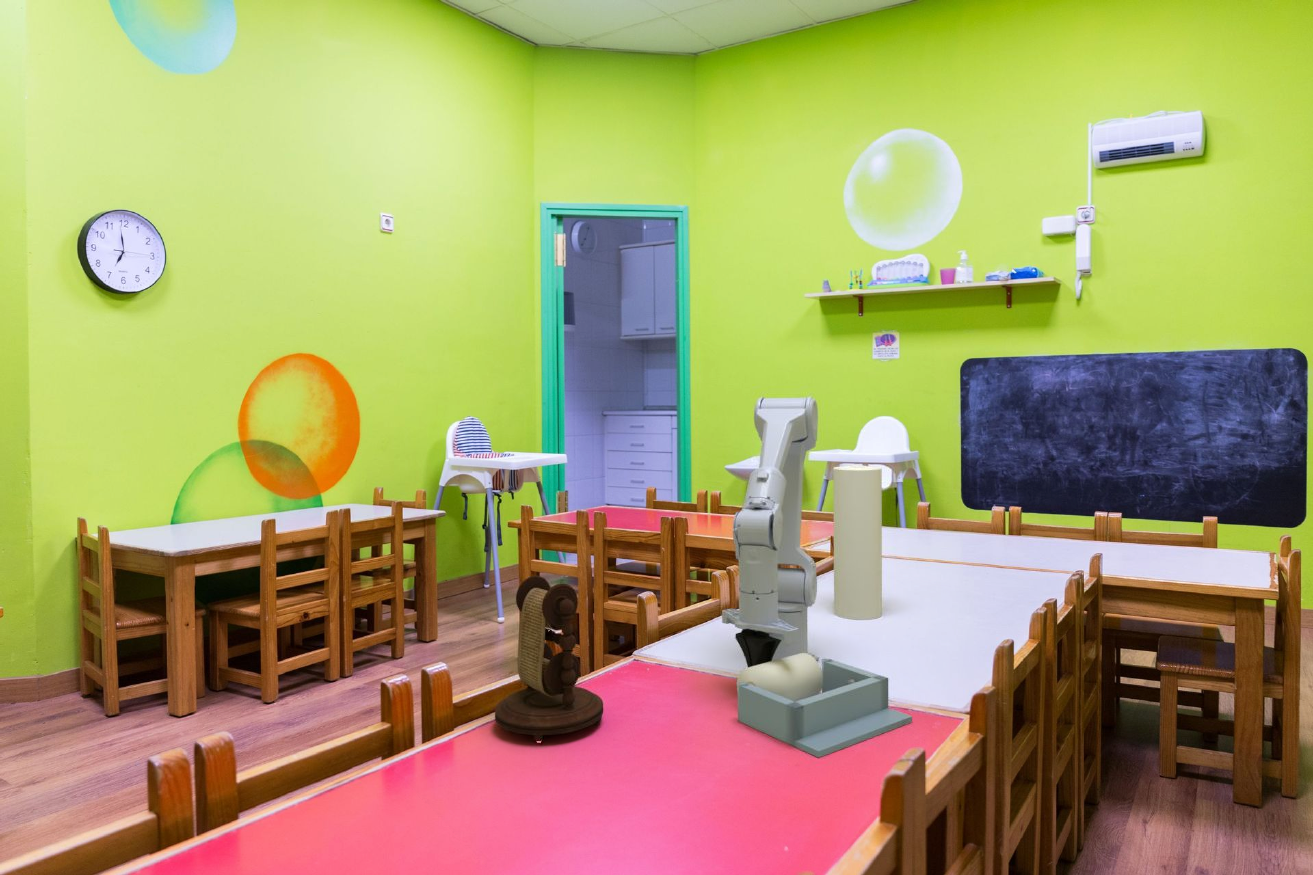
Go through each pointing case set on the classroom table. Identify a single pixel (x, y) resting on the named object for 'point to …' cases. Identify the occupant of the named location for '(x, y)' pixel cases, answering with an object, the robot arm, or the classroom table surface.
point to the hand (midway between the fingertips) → (759, 680)
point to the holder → (824, 711)
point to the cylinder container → (857, 542)
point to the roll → (786, 677)
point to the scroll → (547, 666)
